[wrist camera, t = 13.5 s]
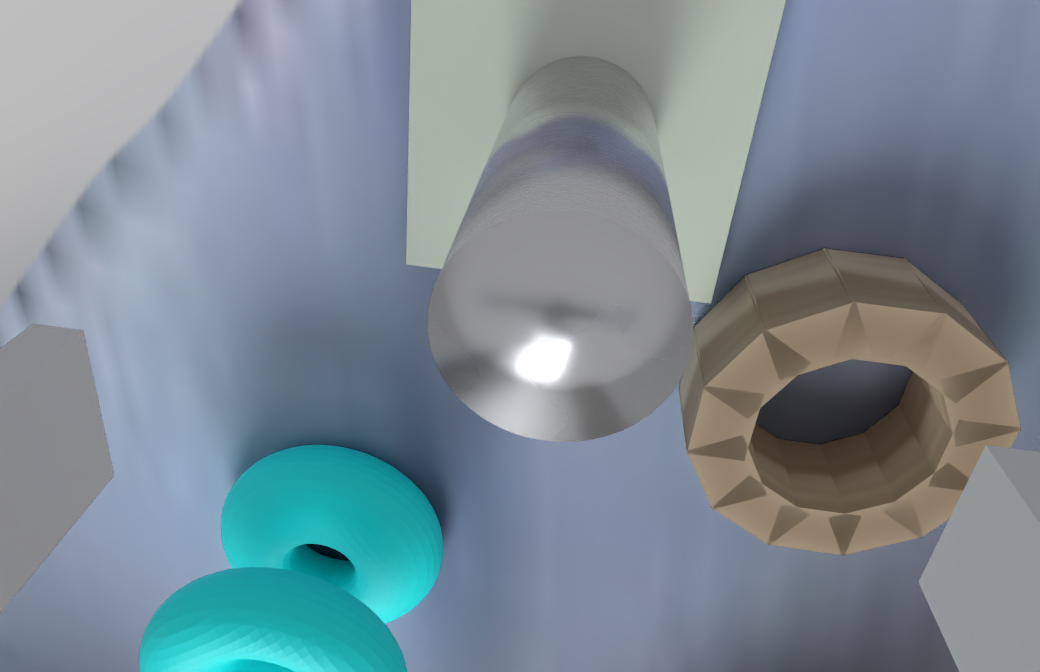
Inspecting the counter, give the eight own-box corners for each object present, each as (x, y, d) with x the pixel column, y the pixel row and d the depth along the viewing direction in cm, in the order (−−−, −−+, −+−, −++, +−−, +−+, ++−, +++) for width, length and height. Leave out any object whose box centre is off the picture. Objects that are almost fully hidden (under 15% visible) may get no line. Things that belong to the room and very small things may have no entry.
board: (412, 252, 29) (406, 264, 29) (420, -80, 24) (412, -78, 23) (707, 290, 29) (710, 303, 28) (787, -39, 23) (794, -35, 22)
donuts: (250, 815, 32) (65, 667, 28) (327, 614, 40) (193, 480, 37) (452, 758, 28) (273, 582, 25) (489, 552, 37) (361, 397, 33)
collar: (660, 462, 33) (666, 530, 30) (715, 234, 28) (729, 285, 24) (911, 496, 33) (946, 569, 29) (1016, 271, 27) (1074, 329, 24)
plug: (500, 194, 27) (423, 424, 16) (512, 48, 24) (431, 194, 13) (641, 212, 27) (666, 456, 15) (667, 65, 24) (719, 229, 13)
